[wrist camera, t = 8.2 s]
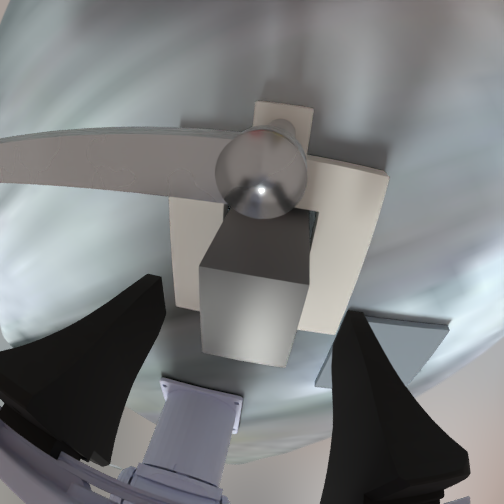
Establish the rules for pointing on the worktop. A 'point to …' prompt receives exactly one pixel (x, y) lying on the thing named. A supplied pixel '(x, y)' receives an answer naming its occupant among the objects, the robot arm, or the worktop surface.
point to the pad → (398, 347)
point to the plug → (255, 287)
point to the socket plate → (315, 198)
